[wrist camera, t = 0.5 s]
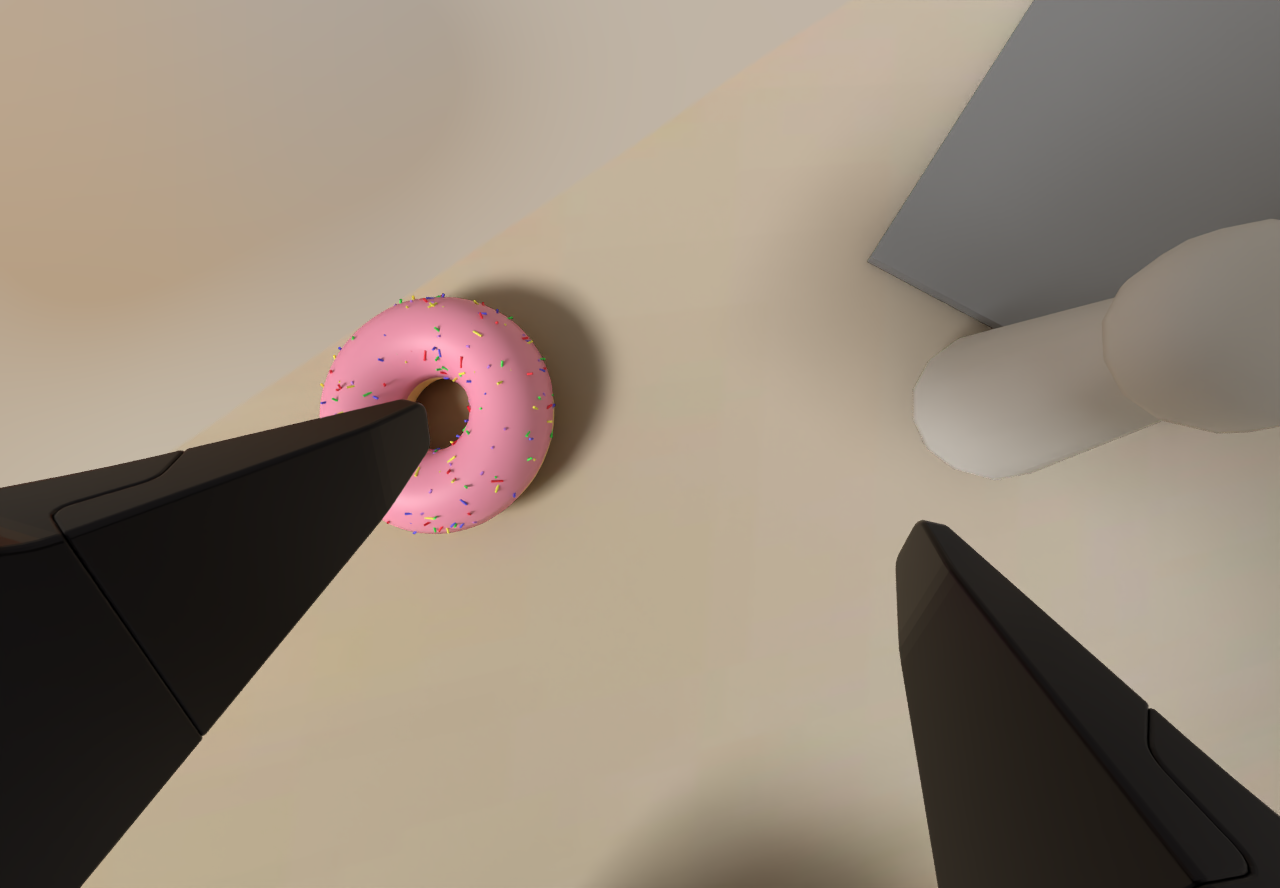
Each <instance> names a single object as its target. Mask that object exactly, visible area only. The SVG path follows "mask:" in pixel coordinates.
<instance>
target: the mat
mask: <svg viewBox="0 0 1280 888" xmlns="http://www.w3.org/2000/svg"><path fill="white" fill-rule="evenodd" d="M1267 219H1276V220H1280V0H1034V1H1033V2H1032V4H1031V5H1030V7H1029V9H1028V10H1027V12H1026V13H1025V15H1024V16H1023V18H1022V20H1021V21H1020V23H1019V24H1018V26H1017V27H1016V29H1015V31H1014V32H1013V34H1012V35H1011V37H1010V38H1009V40H1008V41H1007V43H1006V45H1005V46H1004V48H1003V49H1002V51H1001V52H1000V54H999V56H998V57H997V59H996V60H995V62H994V63H993V65H992V67H991V68H990V70H989V71H988V73H987V74H986V76H985V78H984V79H983V81H982V82H981V84H980V85H979V87H978V89H977V90H976V92H975V93H974V95H973V96H972V98H971V100H970V101H969V103H968V104H967V106H966V107H965V109H964V110H963V112H962V114H961V115H960V117H959V118H958V120H957V121H956V123H955V125H954V126H953V128H952V129H951V131H950V132H949V134H948V136H947V137H946V139H945V140H944V142H943V143H942V145H941V147H940V148H939V150H938V151H937V153H936V154H935V156H934V158H933V159H932V161H931V162H930V164H929V165H928V167H927V169H926V170H925V172H924V173H923V175H922V176H921V178H920V179H919V181H918V183H917V184H916V186H915V187H914V189H913V190H912V192H911V194H910V195H909V197H908V198H907V200H906V201H905V203H904V205H903V206H902V208H901V209H900V211H899V212H898V214H897V216H896V217H895V219H894V220H893V222H892V223H891V225H890V227H889V228H888V230H887V231H886V233H885V234H884V236H883V238H882V239H881V241H880V242H879V244H878V245H877V247H876V248H875V250H874V252H873V253H872V255H871V256H870V258H869V259H868V261H867V262H869V263H871V264H873V265H875V266H877V267H878V268H880V269H882V270H884V271H886V272H888V273H890V274H892V275H894V276H895V277H897V278H899V279H901V280H903V281H905V282H907V283H909V284H910V285H912V286H914V287H916V288H918V289H920V290H922V291H924V292H926V293H927V294H929V295H931V296H933V297H935V298H937V299H939V300H941V301H943V302H944V303H946V304H948V305H950V306H952V307H954V308H956V309H958V310H960V311H961V312H963V313H965V314H967V315H969V316H971V317H973V318H975V319H977V320H978V321H980V322H982V323H984V324H986V325H988V326H990V327H992V328H994V329H996V328H1000V327H1004V326H1007V325H1011V324H1015V323H1019V322H1023V321H1027V320H1030V319H1034V318H1038V317H1042V316H1046V315H1049V314H1053V313H1057V312H1061V311H1065V310H1069V309H1072V308H1076V307H1080V306H1084V305H1088V304H1091V303H1095V302H1099V301H1103V300H1107V299H1111V298H1114V297H1115V296H1116V294H1117V292H1118V290H1119V289H1120V287H1121V286H1122V285H1123V284H1124V283H1125V282H1126V281H1127V280H1128V279H1129V278H1131V277H1132V276H1133V275H1135V274H1136V273H1138V272H1139V271H1140V270H1142V269H1143V268H1144V267H1146V266H1147V265H1148V264H1150V263H1151V262H1152V261H1154V260H1155V259H1157V258H1158V257H1159V256H1161V255H1162V254H1164V253H1165V252H1167V251H1169V250H1171V249H1172V248H1174V247H1176V246H1178V245H1179V244H1181V243H1183V242H1185V241H1186V240H1188V239H1191V238H1194V237H1197V236H1200V235H1204V234H1207V233H1210V232H1213V231H1216V230H1219V229H1222V228H1227V227H1232V226H1237V225H1242V224H1247V223H1252V222H1257V221H1262V220H1267Z"/></svg>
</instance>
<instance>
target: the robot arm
mask: <svg viewBox="0 0 1280 888" xmlns="http://www.w3.org/2000/svg"><path fill="white" fill-rule="evenodd" d="M429 446H430V435H429V427H428V420H427V412H426V409H425V407H424V406H423V405H422V404H421V403H418V402H414V401H409V400H405V399H400V400H395V401H391V402H386V403H382V404H378V405H374V406H369V407H365V408H361V409H356V410H352V411H348V412H344V413H339V414H335V415H331V416H326V417H322V418H318V419H314V420H309V421H305V422H301V423H296V424H292V425H288V426H284V427H279V428H275V429H271V430H266V431H262V432H258V433H254V434H249V435H245V436H241V437H236V438H232V439H228V440H224V441H219V442H215V443H211V444H206V445H202V446H198V447H194V448H189V449H187V450H186V451H185V452H184V451H176V452H172V453H167V454H163V455H159V456H155V457H150V458H146V459H141V460H137V461H132V462H128V463H123V464H118V465H114V466H109V467H104V468H99V469H95V470H90V471H85V472H80V473H75V474H70V475H65V476H60V477H55V478H49V479H44V480H39V481H34V482H29V483H23V484H18V485H13V486H8V487H3V488H0V888H80V887H81V886H82V885H83V884H84V882H85V881H86V880H87V879H88V878H89V876H90V875H91V874H92V873H93V871H94V870H95V869H96V868H97V867H98V865H99V864H100V863H101V862H102V860H103V859H104V858H105V857H106V856H107V854H108V853H109V852H110V851H111V850H112V848H113V847H114V846H115V845H116V843H117V842H118V841H119V840H120V839H121V837H122V836H123V835H124V834H125V832H126V831H127V830H128V829H129V828H130V826H131V825H132V824H133V823H134V821H135V820H136V819H137V818H138V817H139V815H140V814H141V813H142V812H143V811H144V809H145V808H146V807H147V806H148V804H149V803H150V802H151V801H152V800H153V798H154V797H155V796H156V795H157V793H158V792H159V791H160V790H161V789H162V787H163V786H164V785H165V784H166V783H167V781H168V780H169V779H170V778H171V776H172V775H173V774H174V773H175V772H176V770H177V769H178V768H179V767H180V765H181V764H182V763H183V762H184V761H185V759H186V758H187V757H188V756H189V755H190V753H191V752H192V751H193V750H194V748H195V747H196V746H197V745H198V744H199V742H200V741H201V740H202V736H204V735H205V734H206V733H207V732H208V731H209V730H210V728H211V727H212V726H213V725H214V724H215V722H216V721H217V720H218V719H219V718H220V716H221V715H222V714H223V713H224V711H225V710H226V709H227V708H228V707H229V705H230V704H231V703H232V702H233V700H234V699H235V698H236V697H237V696H238V694H239V693H240V692H241V691H242V690H243V688H244V687H245V686H246V685H247V683H248V682H249V681H250V680H251V679H252V677H253V676H254V675H255V674H256V672H257V671H258V670H259V669H260V668H261V666H262V665H263V664H264V663H265V662H266V660H267V659H268V658H269V657H270V655H271V654H272V653H273V652H274V651H275V649H276V648H277V647H278V646H279V644H280V643H281V642H282V641H283V640H284V638H285V637H286V636H287V635H288V634H289V632H290V631H291V630H292V629H293V627H294V626H295V625H296V624H297V623H298V621H299V620H300V619H301V618H302V617H303V615H304V614H305V613H306V612H307V610H308V609H309V608H310V607H311V606H312V604H313V603H314V602H315V601H316V599H317V598H318V597H319V596H320V595H321V593H322V592H323V591H324V590H325V589H326V587H327V586H328V585H329V584H330V582H331V581H332V580H333V579H334V578H335V576H336V575H337V574H338V573H339V571H340V570H341V569H342V568H343V567H344V565H345V564H346V563H347V562H348V561H349V559H350V558H351V557H352V556H353V554H354V553H355V552H356V551H357V550H358V548H359V547H360V546H361V545H362V543H363V542H364V541H365V540H366V539H367V537H368V536H369V535H370V534H371V533H372V531H373V530H374V529H375V528H376V526H377V525H378V524H379V523H380V522H381V520H382V519H383V518H384V516H385V515H386V514H387V512H388V511H389V510H390V508H391V507H392V505H393V504H394V503H395V501H396V499H397V498H398V496H399V495H400V493H401V492H402V490H403V489H404V487H405V486H406V484H407V483H408V481H409V480H410V478H411V477H412V475H413V474H414V472H415V470H416V469H417V467H418V466H419V464H420V463H421V461H422V460H423V458H424V457H425V455H426V454H427V452H428V449H429ZM896 591H897V617H898V639H899V652H900V659H901V666H902V672H903V678H904V684H905V690H906V696H907V702H908V708H909V714H910V720H911V726H912V732H913V738H914V744H915V750H916V756H917V762H918V768H919V774H920V780H921V786H922V793H923V799H924V805H925V811H926V817H927V823H928V829H929V835H930V841H931V847H932V853H933V859H934V865H935V871H936V877H937V883H938V888H1280V816H1279V815H1278V814H1276V813H1275V812H1274V811H1273V810H1272V809H1270V808H1269V807H1268V806H1267V805H1266V804H1264V803H1263V802H1262V801H1261V800H1259V799H1258V798H1257V797H1256V796H1255V795H1253V794H1252V793H1251V792H1250V791H1249V790H1247V789H1246V788H1245V787H1244V786H1242V785H1241V784H1240V783H1239V782H1238V781H1236V780H1235V779H1234V778H1233V777H1232V776H1230V775H1229V774H1228V773H1227V772H1226V771H1225V770H1223V769H1222V768H1221V767H1220V766H1219V765H1218V764H1216V763H1215V762H1214V761H1213V760H1212V759H1211V758H1210V757H1208V756H1207V755H1206V754H1205V753H1204V752H1203V751H1201V750H1200V749H1199V748H1198V747H1197V746H1196V745H1194V744H1193V743H1192V742H1191V741H1190V740H1189V739H1188V738H1186V737H1185V736H1184V735H1183V734H1182V733H1181V732H1180V731H1178V730H1177V729H1176V728H1175V727H1174V726H1173V725H1172V724H1171V723H1169V722H1168V721H1167V720H1166V719H1165V718H1164V717H1163V716H1162V715H1160V714H1159V713H1158V712H1157V711H1156V710H1155V709H1152V708H1150V709H1148V704H1147V702H1146V701H1144V700H1143V699H1142V698H1141V697H1140V696H1139V695H1138V694H1137V693H1135V692H1134V691H1133V690H1132V689H1131V688H1130V687H1129V686H1128V685H1126V684H1125V683H1124V682H1123V681H1122V680H1121V679H1120V678H1118V677H1117V676H1116V675H1115V674H1114V673H1113V672H1112V671H1111V670H1109V669H1108V668H1107V667H1106V666H1105V665H1104V664H1103V663H1102V662H1100V661H1099V660H1098V659H1097V658H1096V657H1095V656H1094V655H1092V654H1091V653H1090V652H1089V651H1088V650H1087V649H1086V648H1085V647H1083V646H1082V645H1081V644H1080V643H1079V642H1078V641H1077V640H1076V639H1074V638H1073V637H1072V636H1071V635H1070V634H1069V633H1068V632H1066V631H1065V630H1064V629H1063V628H1062V627H1061V626H1060V625H1059V624H1057V623H1056V622H1055V621H1054V620H1053V619H1052V618H1051V617H1050V616H1048V615H1047V614H1046V613H1045V612H1044V611H1043V610H1042V609H1040V608H1039V607H1038V606H1037V605H1036V604H1035V603H1034V602H1033V601H1031V600H1030V599H1029V598H1028V597H1027V596H1026V595H1025V594H1024V593H1022V592H1021V591H1020V590H1019V589H1018V588H1017V587H1016V586H1015V585H1013V584H1012V583H1011V582H1010V581H1009V580H1008V579H1007V578H1005V577H1004V576H1003V575H1002V574H1001V573H1000V572H999V571H998V570H996V569H995V568H994V567H993V566H992V565H991V564H990V563H989V562H987V561H986V560H985V559H984V558H983V557H982V556H981V555H979V554H978V553H977V552H976V551H975V550H974V549H973V548H972V547H970V546H969V545H968V544H967V543H966V542H965V541H964V540H963V539H961V538H960V537H959V536H958V535H957V534H956V533H955V532H953V531H952V530H951V529H950V528H949V527H948V526H946V525H943V524H938V523H934V522H930V521H925V520H921V521H919V522H917V523H916V524H915V526H914V527H913V529H912V531H911V533H910V534H909V536H908V538H907V540H906V542H905V544H904V545H903V547H902V549H901V551H900V553H899V555H898V557H897V561H896Z"/></svg>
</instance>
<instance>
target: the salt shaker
mask: <svg viewBox="0 0 1280 888" xmlns="http://www.w3.org/2000/svg"><path fill="white" fill-rule="evenodd" d="M913 421H914V423H915V425H916V427H917V429H918V431H919V433H920V435H921V437H922V441H923V443H924V445H925V446H926V448H927V449H928V450H929V451H930V452H932V453H933V454H934V455H936V456H937V457H938V458H940V459H941V460H942V461H944V462H945V463H946V464H948V465H949V466H950V467H952V468H953V469H955V470H959V471H963V472H966V473H970V474H974V475H977V476H981V477H985V478H988V479H992V480H999V479H1004V478H1009V477H1015V476H1020V475H1025V474H1030V473H1033V472H1035V471H1038V470H1040V469H1043V468H1045V467H1048V466H1050V465H1053V464H1055V463H1058V462H1060V461H1063V460H1065V459H1068V458H1070V457H1073V456H1075V455H1078V454H1080V453H1083V452H1085V451H1088V450H1091V449H1093V448H1096V447H1098V446H1101V445H1103V444H1106V443H1108V442H1111V441H1113V440H1116V439H1118V438H1121V437H1123V436H1126V435H1128V434H1131V433H1133V432H1136V431H1138V430H1141V429H1143V428H1146V427H1148V426H1151V425H1153V424H1156V423H1158V422H1161V421H1167V422H1171V423H1175V424H1180V425H1184V426H1188V427H1192V428H1197V429H1201V430H1205V431H1209V432H1214V433H1239V432H1252V431H1257V430H1263V429H1268V428H1274V427H1279V426H1280V220H1276V219H1267V220H1262V221H1257V222H1252V223H1247V224H1242V225H1237V226H1232V227H1227V228H1222V229H1219V230H1216V231H1213V232H1210V233H1207V234H1204V235H1200V236H1197V237H1194V238H1191V239H1188V240H1186V241H1185V242H1183V243H1181V244H1179V245H1178V246H1176V247H1174V248H1172V249H1171V250H1169V251H1167V252H1165V253H1164V254H1162V255H1161V256H1159V257H1158V258H1157V259H1155V260H1154V261H1152V262H1151V263H1150V264H1148V265H1147V266H1146V267H1144V268H1143V269H1142V270H1140V271H1139V272H1138V273H1136V274H1135V275H1133V276H1132V277H1131V278H1129V279H1128V280H1127V281H1126V282H1125V283H1124V284H1123V285H1122V286H1121V287H1120V289H1119V290H1118V292H1117V294H1116V296H1115V297H1114V298H1111V299H1107V300H1103V301H1099V302H1095V303H1091V304H1088V305H1084V306H1080V307H1076V308H1072V309H1069V310H1065V311H1061V312H1057V313H1053V314H1049V315H1046V316H1042V317H1038V318H1034V319H1030V320H1027V321H1023V322H1019V323H1015V324H1011V325H1007V326H1004V327H1000V328H996V329H992V330H988V331H985V332H981V333H977V334H973V335H969V336H965V337H962V338H958V339H957V340H956V341H954V342H953V343H951V344H950V345H949V346H947V347H946V348H945V349H943V350H942V351H941V352H939V353H938V354H936V355H935V356H934V357H932V358H931V359H930V360H929V361H928V362H927V364H926V366H925V368H924V370H923V371H922V373H921V375H920V377H919V379H918V381H917V383H916V385H915V387H914V389H913Z"/></svg>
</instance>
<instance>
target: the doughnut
mask: <svg viewBox="0 0 1280 888" xmlns="http://www.w3.org/2000/svg"><path fill="white" fill-rule="evenodd" d="M444 296H445V294H444V293H443V294H442V295H441V296H439V295H438V296H437V297H434V298H432V297H426V298H421V299H415V297H414V296H412V298H413V300H410V301H406V302H403V303H402V299H400V304H395V305H394V306H393V307H391V308H388V309H387V310H385V311H383V312H381V313H380V314H378V315H377V316H375V317H374V318H372V319H371V320H369V321H368V322H367V323H365V324H364V325H363V326H362V327H361V328H359V329H358V330H357V331H356V332H355V333H354V334H353V335H352V336H351V338H350V339H349V340H348V341H347V342H346V344H345V345H344V346H343V348H341V347H339V348H338V349H339V350H340V352H339V353H338V355H337V357H336V356H335V355H333V357H334V359H335V360H334V362H333V364H332V366H331V368H330V370H329V373H328V375H327V378H326V381H325V384H324V385H323V384H322V383H321V384H320V385H321V386H322V387H323V392H322V397H321V404H320V418H322V417H326V416H331V415H335V414H339V413H344V412H348V411H352V410H356V409H361V408H365V407H369V406H374V405H378V404H382V403H386V402H391V401H395V400H400V399H405V400H409V401H414V402H416V400H417V398H418V396H419V394H420V393H421V392H422V391H423V390H424V388H425V387H427V386H428V385H429V384H431V383H432V382H434V381H436V380H439V379H443V378H444V379H451V380H452V381H453V382H454V381H455V382H457V383H458V384H459V385H461V386H462V387H463V388H464V390H465V391H466V393H467V395H468V398H469V400H468V401H469V403H470V407H469V406H467V408H468V410H469V412H470V413H469V419H468V420H465V422H468V423H467V425H466V427H465V428H464V429H463V430H462V431H463V433H462V435H461V436H460V435H456V437H458V438H459V439H457V440H456V441H454V442H453V441H450V443H451V444H452V445H451V446H449V447H447V448H444V449H440V448H437V449H428V452H427V454H426V455H425V457H424V458H423V460H422V461H421V463H420V464H419V466H418V467H417V469H416V470H415V472H414V474H413V475H412V477H411V478H410V480H409V481H408V483H407V484H406V486H405V487H404V489H403V490H402V492H401V493H400V495H399V496H398V498H397V499H396V501H395V503H394V504H393V505H392V507H391V508H390V510H389V511H388V512H387V514H386V515H385V516H384V518H383V519H382V520H383V521H385V522H387V524H391V525H393V526H396V527H398V528H401V529H404V530H408V531H412V532H413V534H415V533H417V532H418V533H428V534H442V533H451V532H457V531H461V530H465V529H468V528H472V527H475V526H477V525H480V524H482V523H484V522H486V521H488V520H490V519H491V518H493V517H494V516H496V515H498V514H499V513H501V512H502V511H503V510H505V509H506V508H507V507H509V506H510V505H511V504H512V503H513V502H514V501H515V500H516V499H517V498H518V497H519V496H520V495H521V494H522V493H523V492H524V491H525V489H526V488H527V487H528V486H529V485H530V483H531V482H532V481H533V479H534V478H535V476H536V475H537V473H538V471H539V469H540V468H541V466H542V464H543V461H544V459H545V457H546V454H547V452H548V449H549V445H550V442H551V438H553V426H554V406H555V405H556V404H554V399H553V393H552V384H551V379H550V376H549V373H548V370H547V368H546V366H545V363H544V361H543V360H545V358H542V357H541V355H540V353H539V351H538V349H537V348H536V346H535V345H534V343H533V340H531V339H530V338H529V337H528V336H527V335H526V333H525V332H524V331H523V330H522V329H521V328H520V327H519V326H518V325H517V324H516V323H514V322H513V321H512V320H511V319H513V317H507V316H505V315H503V314H502V313H500V312H499V311H498V309H496V310H494V309H492V308H490V307H488V306H486V305H484V302H482V304H481V303H478V302H476V301H475V300H474V301H471V300H467V299H461V298H454V297H444Z"/></svg>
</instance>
